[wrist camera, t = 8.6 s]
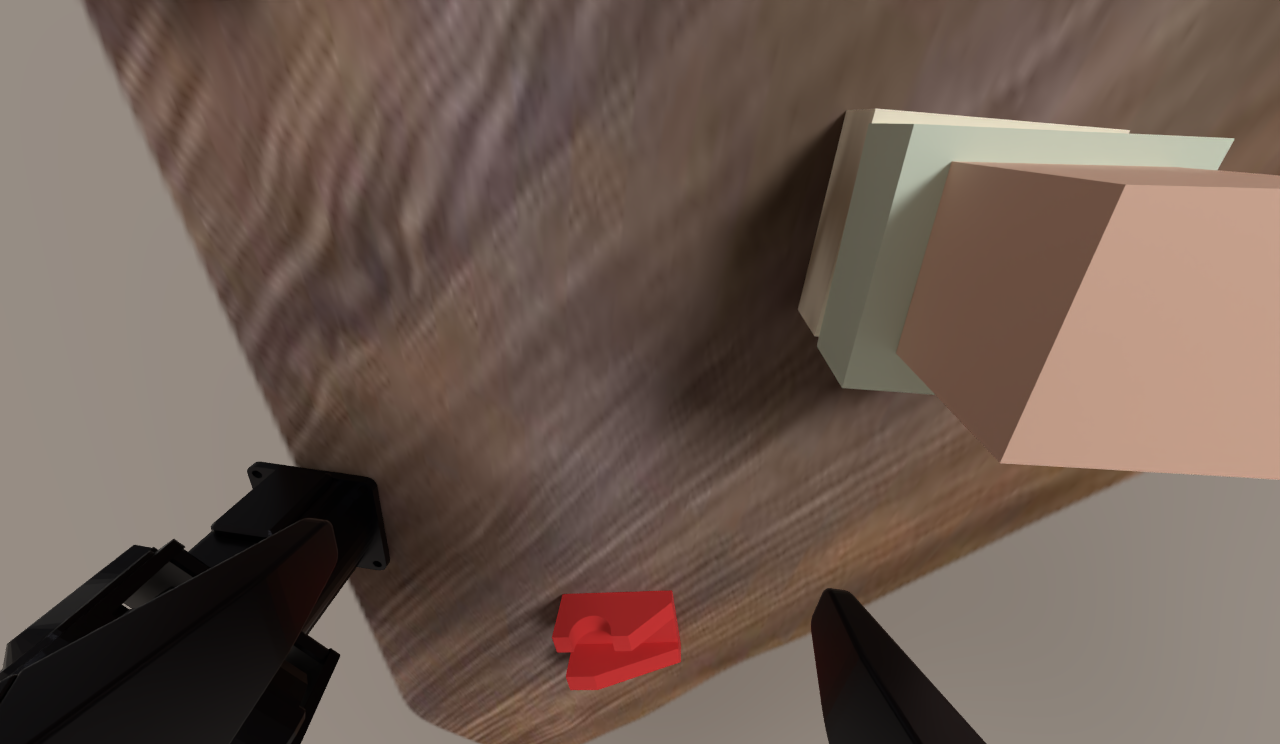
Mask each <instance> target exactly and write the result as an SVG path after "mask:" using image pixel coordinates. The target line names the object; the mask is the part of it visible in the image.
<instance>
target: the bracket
mask: <svg viewBox="0 0 1280 744" xmlns="http://www.w3.org/2000/svg"><path fill="white" fill-rule="evenodd" d="M552 639H553V642H554V645H555V648H556V650H557V652H571V654H570V659H569V664H568V669H567V674H566V679H567V681H568V684H569V687H570V690H599V689H602V688H605V687H608V686H611V685H614V684H617V683H620V682H623V681H626V680H628V679H631V678H634V677H637V676H640V675H643V674H646V673H649V672H652V671H655V670H658V669H661V668H664V667H667V666H670V665H673V664H676V663H679V662H681V642H680V636H679V630H678V624H677V618H676V612H675V605H674V599H673V593H672V591H643V592H613V593H583V594H563V595H562V599H561V603H560V607H559V611H558V615H557V619H556V623H555V627H554V631H553V636H552Z"/></svg>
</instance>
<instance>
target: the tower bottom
mask: <svg viewBox="0 0 1280 744" xmlns="http://www.w3.org/2000/svg"><path fill="white" fill-rule="evenodd" d="M869 123H891V124H929V125H951V126H973V127H994V128H1016V129H1038V130H1060V131H1081V132H1103V133H1125V134H1129V132H1130V130H1120V129H1108V128H1096V127H1085V126H1073V125H1061V124H1050V123H1038V122H1026V121H1014V120H1003V119H991V118H979V117H968V116H956V115H944V114H933V113H921V112H909V111H897V110H886V109H862V110H847V111H846V114H845V118H844V122H843V127H842V131H841V135H840V139H839V143H838V147H837V151H836V155H835V159H834V163H833V168H832V172H831V176H830V180H829V184H828V188H827V192H826V196H825V200H824V204H823V209H822V213H821V217H820V221H819V225H818V229H817V233H816V237H815V241H814V245H813V249H812V254H811V258H810V262H809V266H808V270H807V274H806V278H805V282H804V286H803V290H802V295H801V299H800V303H799V307H798V311H799V312H800V314H801V316H802V317H803V319H804V320H805V322H806V324H807V325H808V327H809V328H810V330H811V332H812V333H813V335H814V336H816V337H819V335H820V330H821V326H822V322H823V318H824V313H825V309H826V305H827V300H828V296H829V292H830V288H831V283H832V279H833V275H834V270H835V266H836V262H837V258H838V253H839V249H840V245H841V240H842V236H843V232H844V228H845V223H846V219H847V215H848V211H849V206H850V202H851V198H852V193H853V189H854V185H855V181H856V176H857V172H858V168H859V163H860V159H861V155H862V151H863V146H864V142H865V138H866V134H867V129H868V125H869Z"/></svg>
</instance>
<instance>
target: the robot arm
mask: <svg viewBox="0 0 1280 744" xmlns="http://www.w3.org/2000/svg"><path fill="white" fill-rule="evenodd" d="M247 473H248V476H249V479H250V482H251V485H252V488H253V490H252V491H250V492H249V493H248V494H247V495H246V496H245V497H243V498H242V499H241V500H240V501H239V502H238V503H236V504H235V505H234V506H233V507H232V508H231V509H229V510H228V511H227V512H226V513H225V514H224V515H223V516H221V517H220V518H219V519H218V520H217V521H216V522H214V523H213V524H212V526H211V530H212V531H211V532H210V533H209V534H208V535H207V536H206V537H205V538H203V539H202V540H201V541H200V542H199V543H198V544H197V545H195V546H194V547H193V548H192V549H191V550H190V551H189V552H187V551H186V550H184V548H185V546H184V545H182V544H181V543H179V542H178V541H176V540H175V539H173V540H171V541H170V542H169V543H167V544H166V545H164V546H163V547H162V548H160V549H159V550H157V549H156V548H155V547H153V548H149V547H144V546H138V545H133V546H132V547H131V548H129V549H128V550H127V551H125V552H124V553H123V554H121V555H120V556H119V557H118V558H116V559H115V560H114V561H112V562H111V563H110V564H109V565H107V566H106V567H105V568H103V569H102V570H101V571H100V572H98V573H97V574H96V575H94V576H93V577H92V578H91V579H89V580H88V581H87V582H86V583H84V584H83V585H82V586H81V587H79V588H78V589H76V590H75V591H74V592H73V593H71V594H70V595H69V596H67V597H66V598H65V599H64V600H62V601H61V602H60V603H59V604H57V605H56V606H55V607H53V608H52V609H51V610H50V611H48V612H47V613H46V614H45V615H43V616H42V617H41V618H40V619H38V620H37V621H36V622H34V623H33V624H32V625H31V626H29V627H28V628H27V629H25V630H24V631H23V632H22V633H21V634H19V635H18V636H17V637H15V638H14V639H13V640H12V641H10V642H9V643H8V644H7V647H6V652H5V658H4V664H3V669H2V670H1V671H0V744H301V741H302V740H303V737H304V735H305V733H306V731H307V729H308V726H309V724H310V722H311V720H312V718H313V715H314V713H315V711H316V709H317V706H318V704H319V702H320V700H321V697H322V695H323V693H324V691H325V689H326V686H327V684H328V682H329V679H330V678H331V675H332V673H333V671H334V669H335V667H336V664H337V662H338V660H339V657H340V654H339V653H337V652H336V651H334V650H332V649H331V648H330V649H327V648H326V647H324V646H323V645H321V644H320V643H318V642H317V641H316V640H314V639H313V638H311V637H310V636H308V634H309V632H310V631H311V629H312V628H313V627H314V625H315V624H316V623H317V621H318V620H319V618H320V617H321V616H322V614H323V613H324V612H325V610H326V609H327V607H328V606H329V605H330V603H331V602H332V600H333V599H334V598H335V596H336V595H337V594H338V592H339V591H340V589H341V588H342V587H343V585H344V584H345V583H346V581H347V580H348V578H349V577H350V576H351V574H352V573H353V572H354V570H355V569H356V567H361V568H368V569H374V570H384V569H385V568H386V567H387V565H388V564H389V562H390V557H389V551H388V546H387V540H386V534H385V528H384V523H383V517H382V511H381V506H380V500H379V494H378V488H377V485H376V483H375V481H374V480H372V479H371V478H368V477H363V476H356V475H349V474H342V473H335V472H328V471H321V470H314V469H307V468H300V467H294V466H286V465H279V464H273V463H266V462H256V463H254V464H253V465H252V466H251V467H249V468H248V470H247ZM123 603H124V604H126V605H127V606H129V607H130V608H132V609H128V608H126V607H124V606H123V605H122V604H123ZM811 633H812V640H813V647H814V653H815V661H816V669H817V676H818V683H819V690H820V697H821V705H822V711H823V717H824V723H825V727H826V732H827V737H828V741H829V744H986V743H985V742H984V741H983V739H982V738H981V737H980V736H979V735H978V734H977V733H976V732H975V730H974V729H973V728H972V727H971V726H970V725H969V724H968V723H967V722H966V720H965V719H964V718H963V717H962V716H961V715H960V714H959V713H958V712H957V710H956V709H955V708H954V707H953V706H952V705H951V704H950V703H949V702H948V700H947V699H946V698H945V697H944V696H943V695H942V694H941V693H940V691H939V690H938V689H937V688H936V687H935V686H934V685H933V684H932V683H931V681H930V680H929V679H928V678H927V677H926V676H925V675H924V674H923V673H922V672H921V670H920V669H919V668H918V667H917V666H916V665H915V664H914V662H913V661H912V660H911V659H910V658H909V657H908V656H907V655H906V654H905V653H904V651H903V650H902V649H901V648H900V647H899V646H898V645H897V644H896V642H895V641H894V640H893V639H892V638H891V637H890V636H889V635H888V633H887V632H886V631H885V630H884V629H883V628H882V627H881V626H880V625H879V624H878V622H877V621H876V620H875V619H874V618H873V617H872V616H871V614H870V613H869V612H868V611H867V610H866V609H865V608H864V607H863V606H862V604H861V603H860V602H859V601H858V600H857V599H856V598H855V597H854V596H853V595H852V594H851V593H850V592H848V591H846V590H840V589H832V588H827V589H826V590H824V592H823V593H822V595H821V598H820V600H819V602H818V604H817V607H816V609H815V611H814V613H813V616H812V620H811Z"/></svg>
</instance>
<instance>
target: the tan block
mask: <svg viewBox="0 0 1280 744" xmlns="http://www.w3.org/2000/svg"><path fill="white" fill-rule="evenodd" d="M896 354H897V355H898V356H899V357H900V358H901V359H902V360H903V361H904V362H905V363H906V364H907V365H908V367H909V368H910V369H911V370H912V371H913V372H914V373H915V374H916V375H917V376H918V377H919V378H920V379H921V380H922V381H923V382H924V383H925V384H926V386H927V387H928V388H929V389H930V390H931V391H932V392H933V393H934V394H935V395H936V396H937V397H938V398H939V399H940V400H941V401H942V402H943V403H944V405H945V406H946V407H947V408H948V409H949V410H950V411H951V412H952V413H953V414H954V415H955V416H956V417H957V418H958V419H959V420H960V421H961V422H962V424H963V425H964V426H965V427H966V428H967V429H968V430H969V431H970V432H971V433H972V434H973V435H974V436H975V437H976V438H977V439H978V440H979V441H980V443H981V444H982V445H983V446H984V447H985V448H986V449H987V450H988V451H989V452H990V453H991V454H992V455H993V456H994V457H995V458H996V459H997V460H998V462H999V463H1007V464H1024V465H1041V466H1058V467H1075V468H1092V469H1109V470H1126V471H1143V472H1160V473H1178V474H1194V475H1210V476H1228V477H1244V478H1245V477H1246V478H1261V479H1278V480H1280V176H1278V175H1266V174H1254V173H1242V172H1230V171H1218V170H1206V169H1194V168H1183V167H1158V166H1118V165H1077V164H1037V163H997V162H956V161H952V162H951V165H950V169H949V172H948V175H947V179H946V182H945V186H944V189H943V193H942V196H941V200H940V203H939V206H938V210H937V213H936V217H935V220H934V224H933V227H932V231H931V234H930V237H929V241H928V244H927V248H926V251H925V255H924V258H923V262H922V265H921V268H920V272H919V275H918V279H917V282H916V286H915V289H914V293H913V296H912V299H911V303H910V306H909V310H908V313H907V317H906V320H905V324H904V327H903V330H902V334H901V337H900V341H899V344H898V348H897V351H896Z"/></svg>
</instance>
